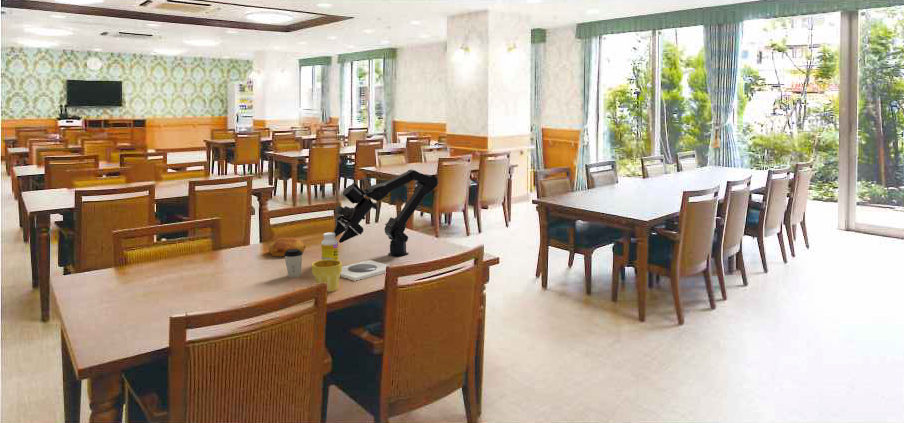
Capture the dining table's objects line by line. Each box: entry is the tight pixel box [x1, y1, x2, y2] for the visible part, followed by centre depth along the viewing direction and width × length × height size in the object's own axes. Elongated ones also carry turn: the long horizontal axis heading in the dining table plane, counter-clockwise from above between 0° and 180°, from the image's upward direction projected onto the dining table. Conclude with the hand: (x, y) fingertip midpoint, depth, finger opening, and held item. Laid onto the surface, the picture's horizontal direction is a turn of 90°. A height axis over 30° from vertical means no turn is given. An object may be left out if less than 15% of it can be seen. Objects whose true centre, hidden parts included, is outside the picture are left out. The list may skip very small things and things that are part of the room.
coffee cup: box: [284, 249, 303, 279], centre depth 239 cm, size 7×7×10 cm
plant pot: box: [311, 259, 343, 292], centre depth 221 cm, size 10×10×10 cm
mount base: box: [340, 259, 388, 282], centre depth 245 cm, size 20×16×2 cm
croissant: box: [268, 236, 306, 257], centre depth 274 cm, size 14×16×8 cm
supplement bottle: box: [320, 232, 340, 261], centre depth 254 cm, size 7×7×13 cm
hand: (335, 240), depth 255 cm, fingers open, 9 cm apart
